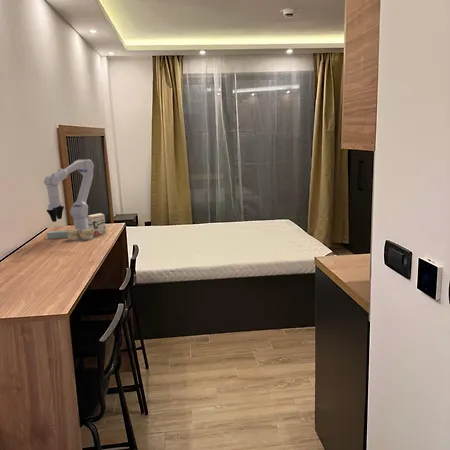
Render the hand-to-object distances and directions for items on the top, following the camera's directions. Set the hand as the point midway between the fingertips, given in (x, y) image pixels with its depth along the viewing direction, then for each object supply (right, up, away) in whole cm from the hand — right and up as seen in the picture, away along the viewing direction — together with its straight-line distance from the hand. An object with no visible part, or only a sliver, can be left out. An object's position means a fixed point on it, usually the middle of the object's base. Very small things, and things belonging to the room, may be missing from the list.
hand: (57, 220), depth 247 cm
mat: (+15, -11, -4) cm, 19 cm away
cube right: (+19, -10, -4) cm, 22 cm away
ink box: (+22, -8, +6) cm, 24 cm away
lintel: (+1, -10, +2) cm, 11 cm away
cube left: (+11, -11, -4) cm, 16 cm away
